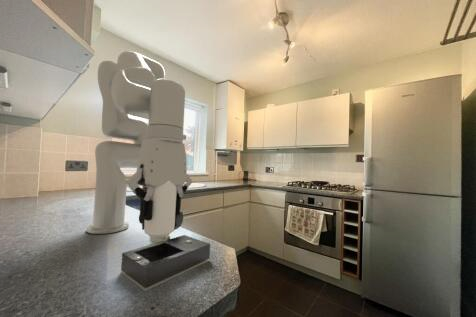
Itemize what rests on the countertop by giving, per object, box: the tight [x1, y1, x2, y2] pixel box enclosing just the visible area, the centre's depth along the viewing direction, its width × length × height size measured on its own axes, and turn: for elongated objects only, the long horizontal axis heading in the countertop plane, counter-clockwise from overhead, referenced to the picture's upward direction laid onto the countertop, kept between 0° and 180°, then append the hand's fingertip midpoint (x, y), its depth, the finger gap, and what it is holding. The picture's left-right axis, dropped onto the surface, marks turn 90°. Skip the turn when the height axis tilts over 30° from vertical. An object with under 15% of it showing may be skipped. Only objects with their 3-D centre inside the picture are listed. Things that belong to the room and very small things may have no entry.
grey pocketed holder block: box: [120, 234, 211, 292], centre depth 44 cm, size 10×16×4 cm, turn 143°
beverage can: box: [143, 181, 177, 238], centre depth 44 cm, size 6×6×12 cm
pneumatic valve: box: [138, 211, 184, 245], centre depth 57 cm, size 6×12×12 cm, turn 78°
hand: (161, 215), depth 43 cm, fingers closed on beverage can, 6 cm apart
